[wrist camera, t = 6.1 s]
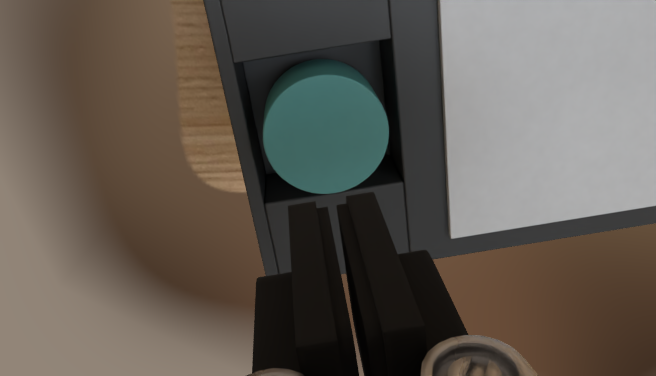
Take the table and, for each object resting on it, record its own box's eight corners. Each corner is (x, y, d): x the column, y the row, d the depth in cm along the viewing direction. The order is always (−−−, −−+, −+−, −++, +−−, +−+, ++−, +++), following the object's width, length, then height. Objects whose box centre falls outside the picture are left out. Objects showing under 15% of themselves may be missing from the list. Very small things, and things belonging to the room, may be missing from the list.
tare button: (275, 175, 20) (275, 203, 18) (253, 68, 18) (251, 85, 16) (383, 158, 20) (394, 184, 18) (372, 50, 18) (383, 65, 17)
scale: (269, 245, 24) (267, 291, 21) (203, -58, 18) (189, -55, 15) (635, 186, 24) (685, 223, 21) (673, -131, 19) (748, -141, 16)
